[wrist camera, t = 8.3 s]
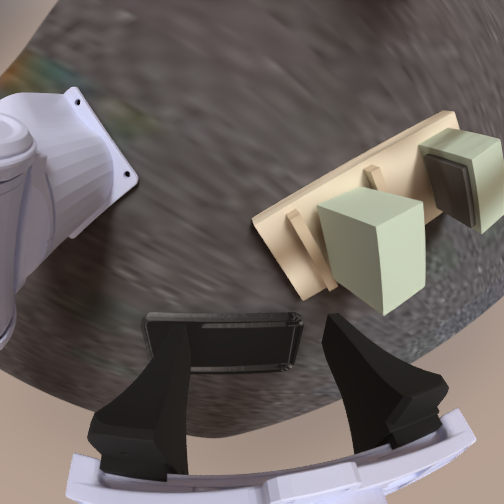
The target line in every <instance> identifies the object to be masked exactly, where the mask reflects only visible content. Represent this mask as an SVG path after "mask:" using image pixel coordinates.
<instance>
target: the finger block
mask: <svg viewBox="0 0 504 504" xmlns="http://www.w3.org/2000/svg"><path fill="white" fill-rule="evenodd" d="M316 206H317V210H318V214H319V218H320V222H321V226H322V231H323V235H324V239H325V244H326V248H327V253H328V257H329V262H330V267H331V272H332V277H333V279H334V280H336V281H337V282H339V283H340V284H341V285H343V286H344V287H345V288H347V289H348V290H349V291H351V292H352V293H353V294H355V295H356V296H357V297H359V298H360V299H361V300H363V301H364V302H365V303H367V304H368V305H369V306H371V307H372V308H373V309H375V310H376V311H377V312H379V313H380V314H381V315H383V316H385V315H386V314H387V313H389V312H390V311H392V310H393V309H395V308H396V307H397V306H399V305H400V304H402V303H403V302H404V301H406V300H407V299H409V298H410V297H411V296H413V295H414V294H415V293H417V292H418V291H419V290H421V289H422V288H423V287H424V286H425V225H424V210H423V202H422V201H418V200H414V199H410V198H407V197H403V196H399V195H395V194H391V193H386V192H382V191H378V190H374V189H369V188H365V187H358V188H356V189H353V190H351V191H348V192H346V193H344V194H341V195H339V196H336V197H334V198H332V199H329V200H327V201H324V202H322V203H320V204H317V205H316Z"/></svg>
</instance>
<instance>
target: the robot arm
mask: <svg viewBox="0 0 504 504" xmlns="http://www.w3.org/2000/svg"><path fill="white" fill-rule="evenodd" d="M79 99H80V101H81V102H80V104H79V105H77V101H78V100H79ZM126 171H128V172H130V177H127V176H126V175H125V172H126ZM138 180H139V179H138V176H137V174H136V173H135V171H134V170H133V168H132V167H131V166H130V164H129V163H128V161H127V160H126V159H125V157H124V156H123V154H122V153H121V151H120V150H119V149H118V147H117V146H116V144H115V143H114V141H113V140H112V138H111V137H110V136H109V134H108V133H107V131H106V130H105V128H104V127H103V125H102V124H101V122H100V121H99V119H98V118H97V116H96V115H95V113H94V112H93V110H92V109H91V107H90V106H89V104H88V103H87V101H86V100H85V98H84V97H83V95H82V93H81V92H80V90H79V89H78V88H77V87H71V88H70V89H68V90H67V91H66V92H65V93H64V94H49V93H16V94H13V95H10V96H8V97H5V98H3V99H1V100H0V350H1V349H2V348H3V347H4V346H5V345H6V344H7V342H8V341H9V339H10V338H11V336H12V333H13V331H14V328H15V324H16V316H17V312H16V304H15V298H14V295H15V294H16V293H17V292H18V291H19V290H20V288H21V287H22V286H23V285H24V284H25V283H26V278H27V276H28V275H30V274H31V273H32V272H33V271H34V270H35V269H36V268H37V267H38V266H39V265H40V264H41V263H42V262H43V261H44V260H45V259H46V258H47V257H48V256H49V255H50V254H51V253H52V252H53V251H54V250H55V249H56V248H57V247H58V246H59V245H60V244H61V243H62V242H63V241H64V240H65V239H66V238H67V237H70V238H72V239H74V238H75V237H76V236H77V235H78V234H80V233H81V232H82V231H83V230H84V229H85V228H86V227H87V226H88V225H89V224H90V223H91V222H92V221H94V220H95V219H96V218H97V217H98V216H99V215H100V214H101V213H103V212H104V211H105V210H106V209H107V208H108V207H109V206H111V205H112V204H113V203H114V202H115V201H117V200H118V199H119V198H120V197H121V196H123V195H124V194H125V193H126V192H127V191H129V190H130V189H131V188H132V187H134V186H135V185H136V184H137V183H138ZM322 346H323V350H324V354H325V357H326V360H327V362H328V365H329V367H330V370H331V372H332V374H333V376H334V379H335V381H336V383H337V386H338V388H339V390H340V393H341V396H342V399H343V402H344V406H345V410H346V414H347V418H348V422H349V426H350V431H351V436H352V442H353V448H354V455H351V456H348V457H344V458H340V459H336V460H332V461H328V462H323V463H319V464H314V465H309V466H304V467H298V468H292V469H286V470H279V471H271V472H262V473H252V474H239V475H238V474H237V475H189V474H188V462H187V448H186V447H187V445H186V404H187V396H188V388H189V380H190V372H191V349H190V344H189V339H188V333H187V328H186V324H173V325H172V327H171V329H170V331H169V332H168V334H167V336H166V338H165V340H164V341H163V343H162V345H161V346H160V348H159V350H158V351H157V353H156V354H155V356H154V357H153V359H152V360H151V361H150V363H149V364H148V366H147V367H146V368H145V369H144V371H143V372H142V373H141V374H140V375H139V377H138V378H137V379H136V380H135V381H134V382H133V383H132V384H131V385H130V386H129V387H128V388H127V389H126V390H125V391H124V392H123V393H121V394H120V395H119V396H118V397H117V398H116V399H114V400H113V401H112V402H111V403H109V404H108V405H106V406H105V407H103V408H102V409H100V410H99V411H97V412H95V413H94V416H93V418H92V421H91V424H90V428H89V432H88V436H87V438H88V441H89V442H90V444H91V445H92V446H93V447H94V448H95V449H96V450H97V451H98V452H99V453H100V454H101V455H102V457H101V461H100V460H99V459H96V458H93V457H89V456H85V455H81V454H77V453H74V454H73V458H72V462H71V467H70V472H69V477H68V482H67V488H66V494H65V495H66V497H68V498H70V499H71V500H73V501H75V502H77V503H79V504H387V501H386V498H385V495H388V494H390V493H392V492H394V491H396V490H399V489H401V488H403V487H405V486H407V485H409V484H411V483H413V482H415V481H417V480H419V479H421V478H423V477H424V476H426V475H428V474H430V473H432V472H433V471H435V470H437V469H439V468H441V467H442V466H444V465H446V464H447V463H449V462H451V461H452V460H454V459H455V458H456V457H457V456H459V455H460V454H461V453H462V452H464V451H465V450H466V449H467V448H468V447H469V446H471V445H472V444H473V443H474V442H475V441H476V438H475V436H474V434H473V432H472V430H471V429H470V427H469V425H468V424H467V422H466V420H465V418H464V417H463V415H462V414H461V412H460V410H459V409H458V408H456V409H454V410H452V411H450V412H448V413H446V414H445V415H443V416H442V417H440V418H439V417H438V415H437V414H438V413H439V410H438V408H437V406H438V405H439V404H440V402H441V401H442V400H443V399H444V397H445V396H446V394H447V392H448V389H449V387H448V385H447V383H446V382H445V380H444V379H443V378H442V376H441V375H439V374H435V373H432V372H429V371H425V370H422V369H420V368H417V367H415V366H412V365H410V364H408V363H406V362H404V361H402V360H400V359H398V358H396V357H394V356H393V355H391V354H390V353H388V352H386V351H385V350H383V349H382V348H380V347H379V346H377V345H376V344H375V343H373V342H372V341H371V340H369V339H368V338H367V337H366V336H364V335H363V334H362V333H361V332H360V331H358V330H357V329H356V328H355V327H354V326H353V325H352V324H350V323H349V322H348V321H347V320H346V319H345V318H344V317H342V316H341V315H340V314H339V313H336V314H328V316H327V321H326V325H325V330H324V334H323V338H322Z"/></svg>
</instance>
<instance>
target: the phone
mask: <svg viewBox="0 0 504 504" xmlns="http://www.w3.org/2000/svg"><path fill="white" fill-rule="evenodd" d="M173 324H186V328H187V333H188V339H189V344H190V349H191V372H190V374H248V373H268V372H282V371H287V370H289V369H291V368H292V367H293V365H294V362H295V359H296V355H297V351H298V347H299V343H300V339H301V334H302V330H303V321H302V318H301V316H300V315H299V314H297V313H293V312H288V313H250V314H197V313H159V312H150V313H147V314H145V315H144V317H143V319H142V322H141V328H142V333H143V337H144V341H145V345H146V349H147V353H148V357H149V360H150V361H151V360H152V359H153V357H154V356H155V354H156V353H157V351H158V350H159V348H160V346H161V345H162V343H163V341H164V340H165V338H166V336H167V334H168V332H169V331H170V329H171V327H172V325H173Z"/></svg>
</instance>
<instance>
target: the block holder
mask: <svg viewBox="0 0 504 504" xmlns="http://www.w3.org/2000/svg"><path fill="white" fill-rule="evenodd" d="M358 187H365V188H369V189H374V190H378V191H382V192H386V193H391V194H395V195H399V196H403V197H407V198H410V199H414V200H418V201H422V202H423V210H424V225H426V224H427V223H428V222H430V221H431V220H433V219H434V218H436V217H437V216H438V215H440V214H441V213H442V212H444V213H446V214H448V215H450V216H451V217H453V218H455V219H456V220H458V221H460V222H461V223H463V224H465V225H466V226H468V227H470V228H472V229H474V230H476V231H477V232H479V233H480V234H483V233H484V232H485V231H486V230H487V229H488V228H489V227H490V226H492V225H493V224H494V223H495V222H496V221H497V220H498V219H499V218H500V217H501V216H502V215H503V214H504V160H503V153H502V147H501V142H500V139H497V138H493V137H489V136H485V135H481V134H477V133H472V132H468V131H463V130H459V126H458V123H457V119H456V116H455V113H454V112H452V111H441V112H439V113H437V114H436V115H434V116H432V117H430V118H428V119H426V120H424V121H422V122H420V123H418V124H416V125H415V126H413V127H411V128H409V129H407V130H405V131H403V132H401V133H400V134H398V135H396V136H394V137H392V138H390V139H388V140H387V141H385V142H383V143H381V144H379V145H377V146H376V147H374V148H372V149H370V150H368V151H367V152H365V153H363V154H361V155H359V156H358V157H356V158H354V159H352V160H350V161H349V162H347V163H345V164H343V165H342V166H340V167H338V168H336V169H335V170H333V171H331V172H329V173H328V174H326V175H324V176H322V177H321V178H319V179H317V180H315V181H314V182H312V183H310V184H308V185H307V186H305V187H303V188H302V189H300V190H298V191H297V192H295V193H293V194H291V195H290V196H288V197H286V198H285V199H283V200H281V201H280V202H278V203H276V204H275V205H273V206H271V207H269V208H268V209H266V210H264V211H263V212H261V213H260V214H258V215H256V216H255V217H253V218H252V221H253V224H254V226H255V228H256V229H257V231H258V232H259V234H260V235H261V237H262V238H263V240H264V241H265V243H266V245H267V246H268V248H269V249H270V251H271V252H272V254H273V255H274V257H275V258H276V260H277V261H278V263H279V264H280V266H281V268H282V269H283V271H284V272H285V274H286V275H287V277H288V278H289V280H290V282H291V283H292V285H293V286H294V288H295V289H296V291H297V292H298V294H299V296H300V297H301V299H302V300H303V301H304V300H306V299H308V298H309V297H311V296H313V295H315V294H316V293H318V292H320V291H322V290H323V289H325V288H328V290H329V291H331V290H333V289H335V288H336V287H338V285H337V283H336V282H337V281H336V280H334V279H333V277H332V272H331V267H330V262H329V257H328V253H327V248H326V244H325V239H324V235H323V231H322V226H321V222H320V218H319V214H318V210H317V206H316V205H317V204H320V203H322V202H324V201H327V200H329V199H332V198H334V197H336V196H339V195H341V194H344V193H346V192H348V191H351V190H353V189H356V188H358Z"/></svg>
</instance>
